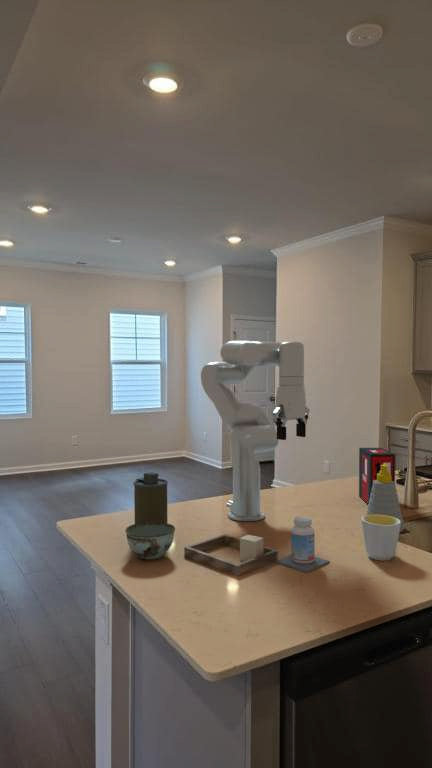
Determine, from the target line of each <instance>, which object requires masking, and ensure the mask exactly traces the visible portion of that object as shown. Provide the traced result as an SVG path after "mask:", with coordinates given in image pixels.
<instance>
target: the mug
mask: <svg viewBox="0 0 432 768" xmlns="http://www.w3.org/2000/svg"><path fill="white" fill-rule="evenodd" d="M361 525H362V532H363V533H362V534H363V539H364V540H363V541H364V547H365V552H366V554H367V555H368V556H369V558H370V559H373V560H375V561H380V562H385V561H387V562H388V561H390V560H391V559H392V558H394V557H395V556H396V554H397V547H398V541H399V537H400V532H399V531H400V525H401V521H400V520H399V519H397V518H395V517H391V516H386V515H367V514H366V515H363V516H362V517H361Z"/></svg>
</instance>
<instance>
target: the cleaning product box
mask: <svg viewBox="0 0 432 768" xmlns="http://www.w3.org/2000/svg"><path fill="white" fill-rule="evenodd" d="M358 451H359V452H358V457H359V458H358V460H359V461H358V480H359V481H358V498H359V497H360V498H361V499H362V500H363V501H364V502H365V503H366V504H365V503H364V502H363V501H362V500H361V499H360V498H359V499H360V500H361V501H362V502H363V503H364V504H365V505H367V506H368V504H369V499H370V494H371V490H372V487H373V482H374V481H375V480H377V474H378V473H379V471H381V466H380V465H383V463H385V464H386V465H388V472H389V474H391V481H393V482H394V483H395V482H396V454H395V453H393V452H391V451H389V450H388V449H385V448H384V447H359V450H358ZM395 484H396V483H395Z"/></svg>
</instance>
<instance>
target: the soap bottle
mask: <svg viewBox="0 0 432 768" xmlns="http://www.w3.org/2000/svg"><path fill="white" fill-rule="evenodd" d="M380 466H381V471H379V473H378V474H377V480H375V481H374V482H373V487H372V490H371V494H370V499H369V504H368V505H367V510H366V515H386V516H391V517H395V518H397V519H399V520H400V521H401V525H400V531H399V533H401V532H403V531H404V530H405V525H404V520H403V516H402V511H401V506H400V501H399V495H398V491H397V490H398V489H397V487H396V486H397V485H396V483H394V482H393V481H391V474H389V472H388V465H386V464H385V463H383V465H380Z"/></svg>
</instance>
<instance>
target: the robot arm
mask: <svg viewBox="0 0 432 768" xmlns="http://www.w3.org/2000/svg"><path fill="white" fill-rule="evenodd" d="M219 353H220V357H221V359H222V360H223V361H212V362H209V363H207V364H205V365H204V366H203V367H202V368H201V371H200V382H201V386H202V389H203V391H204V393H205V394H206V396H207V397H208V398H209V400H210V401H211V402H212V404H213V405H214V407H215V409H216V410H217V413H218V414H219V417H220V418H221V421H222V422H223V424H224V426H225V427H226V428H227V429H228V430H232V431H231V433H230V436H229V445H230V450H231V457H232V458H231V459H232V500H229V501H228V502H227V503H226V505H225V506H226V508H229V509H230V511H229V512H228V513H227V514H228V518H229V519H231V520H234V521H236V522H237V521H238V522H256V521H261V520H263V519H264V518H265V516H266V515H265V514H266V513H265V512H263V511H262V510H261V465H260V462H259V460H258V459H257V457H256V456H255V455H256V454H258V453H266V452H268V453H269V452H272V451H274V450H275V449H276V448H277V447H278V445H279V440H281V441H286V440H287V426H286V424H287V422H288V421H292V420H296V422H297V423H296V424H295V425H296V426H295V427H296V429H295V433H296V434H295V435H296V437H300V438H305V437H306V435H307V434H306V433H307V432H306V431H307V430H306V429H307V428H306V425H307V423H308V419H309V414H310V408H308V407H307V406H306V404H307V403H306V402H307V401H306V391H305V345H304V344H303V343H302V342H300V341H284V342H280V341H279V342H275V341H254V340H230V341H228V342H225V343H224V344H223V345H222V347H221V348H220V351H219ZM255 367H278V387H277V389H276V396H275V404H274V406H275V408H274V410H273V411H272V412H271V414H272V415H271V416H272V417H273V422H274V423H275V426H274V424H273V422H272V421H271V419H270V418H269V416H268V414H267V412H266V411H265V409H264V408H263V407H262V406H261V405H259V403H254V402H249V403H247V402H246V403H243V402H240V401H239V400H238V398H237V396H236V394H235V393H234V392H233V391H232V390H231V389H230V388H229V387H227V386H226V385H239V384H242V383H245V381H246V380H247V379H248V378H249V376H250V375H251V373H252V371H253V370H254V369H255Z"/></svg>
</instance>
